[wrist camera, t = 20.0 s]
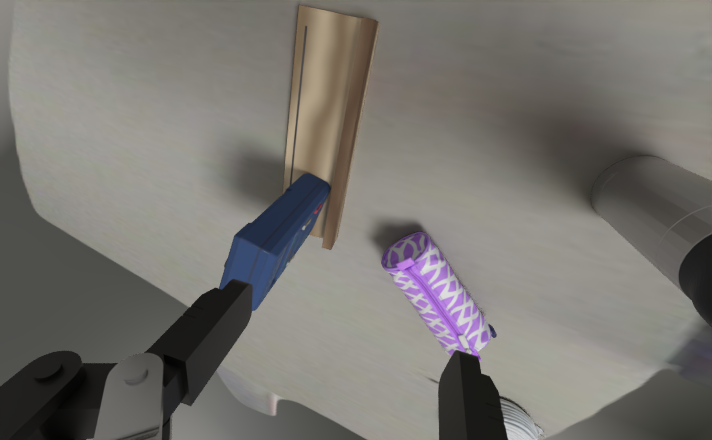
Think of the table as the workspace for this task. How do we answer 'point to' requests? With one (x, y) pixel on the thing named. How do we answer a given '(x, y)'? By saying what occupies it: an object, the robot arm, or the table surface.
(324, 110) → the guide board
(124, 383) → the robot arm
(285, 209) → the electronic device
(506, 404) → the cable
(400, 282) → the pencil case
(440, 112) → the table surface
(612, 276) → the table surface
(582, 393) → the table surface
